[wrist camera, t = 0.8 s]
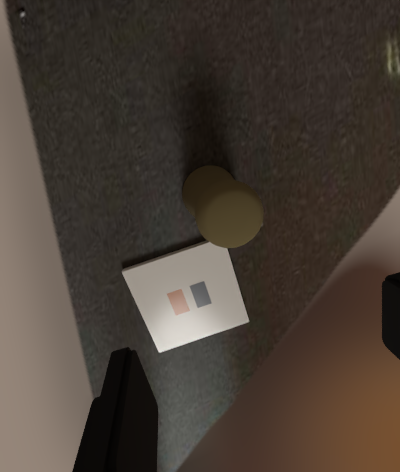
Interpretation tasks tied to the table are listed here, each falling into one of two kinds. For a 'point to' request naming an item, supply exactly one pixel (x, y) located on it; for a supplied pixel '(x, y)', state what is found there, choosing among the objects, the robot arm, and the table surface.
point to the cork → (222, 206)
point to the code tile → (187, 294)
